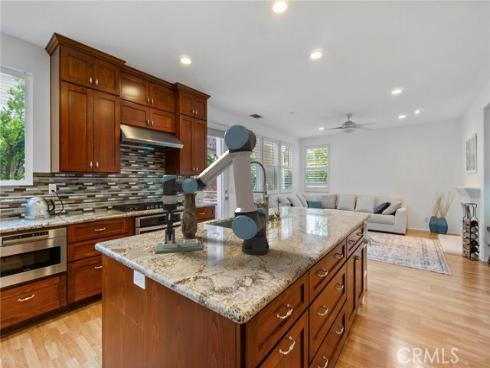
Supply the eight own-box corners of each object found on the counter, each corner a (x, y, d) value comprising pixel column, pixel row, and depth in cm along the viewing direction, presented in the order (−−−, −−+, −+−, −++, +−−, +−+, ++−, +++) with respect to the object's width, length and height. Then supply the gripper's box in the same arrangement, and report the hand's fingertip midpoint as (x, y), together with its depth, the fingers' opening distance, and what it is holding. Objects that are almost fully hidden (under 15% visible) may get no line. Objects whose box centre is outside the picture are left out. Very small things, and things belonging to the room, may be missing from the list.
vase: (187, 234, 157) (187, 191, 156) (200, 236, 153) (200, 191, 152) (177, 238, 147) (177, 192, 146) (192, 240, 144) (192, 192, 142)
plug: (175, 243, 131) (175, 227, 130) (174, 246, 127) (174, 229, 126) (165, 244, 129) (165, 227, 129) (165, 246, 126) (165, 229, 125)
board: (200, 242, 139) (200, 237, 139) (202, 249, 126) (202, 244, 126) (158, 245, 133) (158, 239, 133) (155, 253, 120) (155, 247, 119)
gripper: (164, 201, 134) (164, 241, 135) (161, 205, 118) (161, 250, 119) (177, 201, 136) (177, 240, 137) (176, 204, 120) (176, 249, 121)
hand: (170, 244), depth 128 cm, fingers closed on plug, 4 cm apart
